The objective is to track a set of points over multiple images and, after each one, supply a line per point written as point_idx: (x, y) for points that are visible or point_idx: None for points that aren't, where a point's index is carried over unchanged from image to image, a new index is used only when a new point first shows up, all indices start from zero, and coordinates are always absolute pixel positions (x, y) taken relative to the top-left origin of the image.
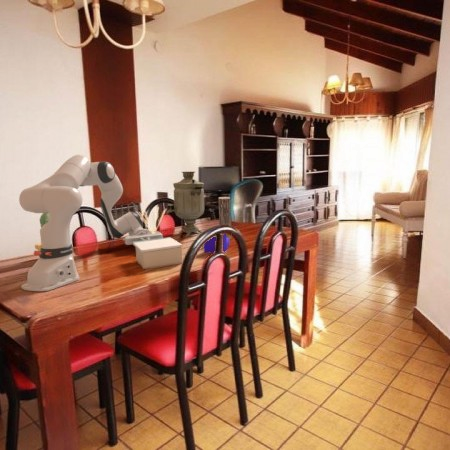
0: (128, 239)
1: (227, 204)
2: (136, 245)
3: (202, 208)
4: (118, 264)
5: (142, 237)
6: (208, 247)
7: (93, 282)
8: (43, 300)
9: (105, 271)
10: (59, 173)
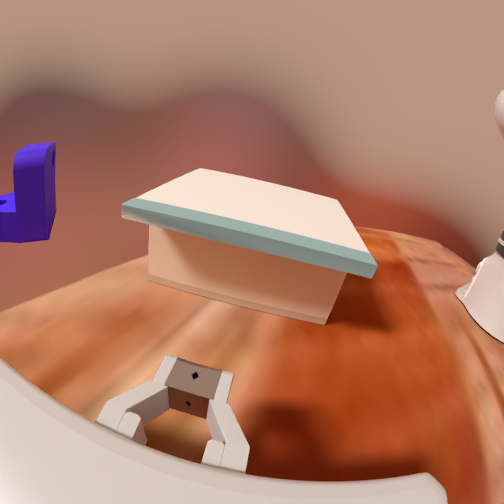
0: (411, 476)
1: None
2: (353, 226)
3: None
4: (397, 338)
5: (203, 464)
6: (49, 212)
7: (422, 271)
8: (458, 265)
9: (420, 305)
10: None
